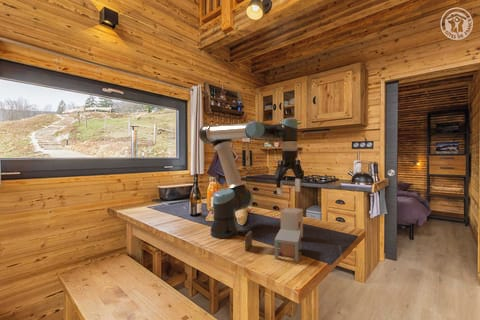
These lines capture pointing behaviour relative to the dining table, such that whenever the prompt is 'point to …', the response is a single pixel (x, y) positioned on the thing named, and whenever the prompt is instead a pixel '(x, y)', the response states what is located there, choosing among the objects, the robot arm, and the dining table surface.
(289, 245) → the block
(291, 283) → the dining table surface
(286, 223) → the supplement box
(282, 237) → the tunnel
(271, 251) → the sled
